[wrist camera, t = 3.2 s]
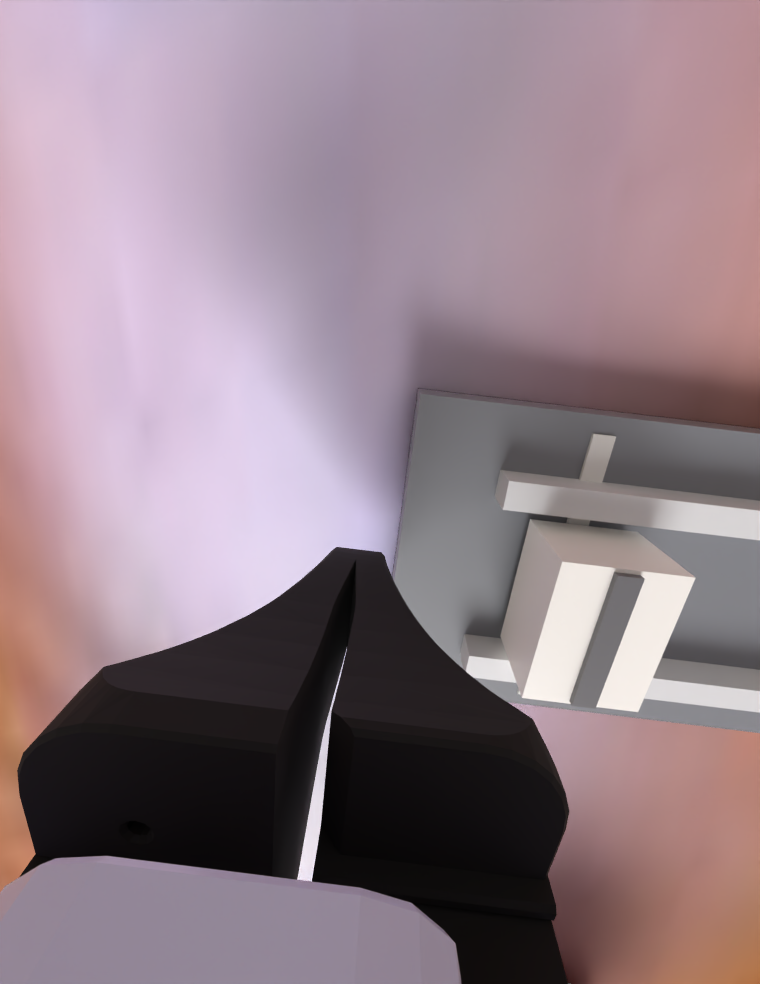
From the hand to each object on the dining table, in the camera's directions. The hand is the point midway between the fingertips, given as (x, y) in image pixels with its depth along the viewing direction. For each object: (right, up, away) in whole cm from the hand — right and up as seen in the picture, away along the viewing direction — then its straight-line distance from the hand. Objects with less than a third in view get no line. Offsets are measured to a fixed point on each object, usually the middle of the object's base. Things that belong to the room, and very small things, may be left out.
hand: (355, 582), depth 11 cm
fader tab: (+6, 0, +1) cm, 6 cm away
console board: (+10, 0, +3) cm, 11 cm away
